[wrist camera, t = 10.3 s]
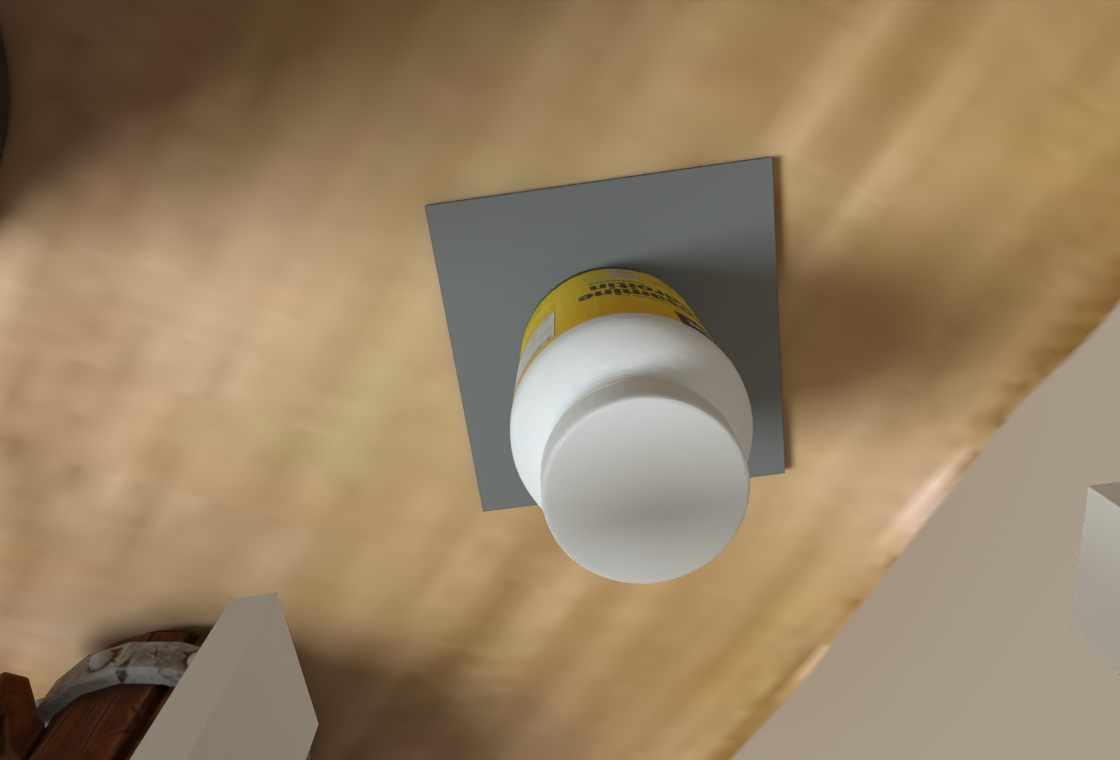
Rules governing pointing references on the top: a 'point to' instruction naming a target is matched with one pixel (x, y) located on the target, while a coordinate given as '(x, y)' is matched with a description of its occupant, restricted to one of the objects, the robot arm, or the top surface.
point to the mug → (96, 701)
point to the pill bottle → (630, 427)
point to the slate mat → (609, 240)
